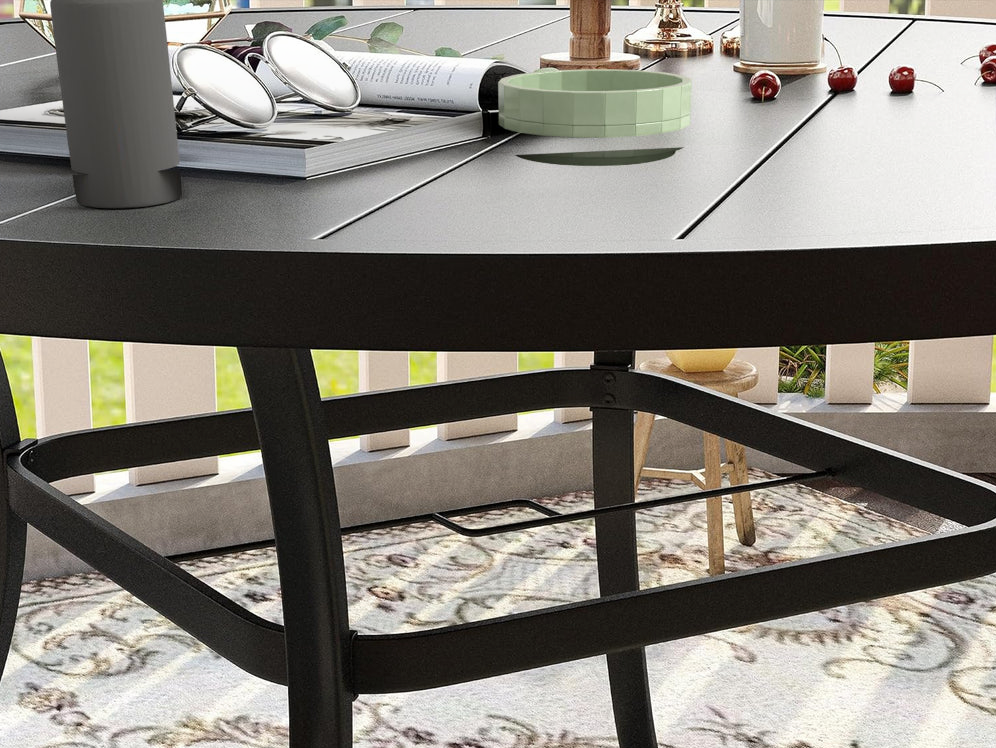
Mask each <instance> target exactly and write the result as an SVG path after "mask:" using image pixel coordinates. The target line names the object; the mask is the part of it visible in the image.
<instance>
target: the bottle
mask: <svg viewBox="0 0 996 748" xmlns="http://www.w3.org/2000/svg"><path fill="white" fill-rule="evenodd" d="M49 4H50V17H51V24H52V31H53V33H52V34H53V38H54V39H53V40H54V48H55V56H56V65H57V70H58V72H57V73H58V77H59V78H58V79H59V85H60V94H61V101H62V109H63V117H64V123H65V131H66V139H67V140H66V141H67V146H68V153H69V161H70V168H71V170H72V171H73V172H76V173H79V174H72V182H73V189H74V195H75V199H76V203H78V204H79V205H82V206H86V207H89V208H96V209H134V208H135V209H137V208H145V207H146V208H147V207H153V206H157V205H164V204H168V203H171V202H173V201H176V200H179V199H180V198H182V195H183V187H182V173H181V169H171V168H175V167H177V166H179V165H180V152H179V144H178V143H179V142H178V133H177V123H176V111H175V102H174V101H175V100H174V95H173V94H174V92H173V84H172V83H173V82H172V75H171V74H172V73H171V63H170V56H169V55H170V54H169V46H168V35H167V27H166V18H165V17H166V16H165V8H164V2H163V0H50V2H49ZM169 169H171V170H169Z"/></svg>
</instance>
